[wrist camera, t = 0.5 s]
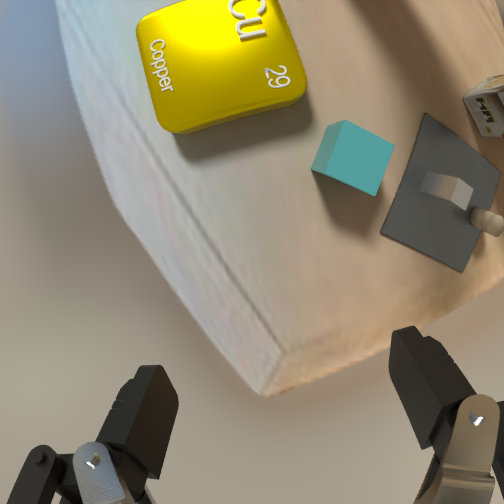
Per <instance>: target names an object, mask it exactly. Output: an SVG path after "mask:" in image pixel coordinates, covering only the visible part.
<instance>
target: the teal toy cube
mask: <svg viewBox="0 0 504 504" xmlns="http://www.w3.org/2000/svg"><path fill="white" fill-rule="evenodd" d="M394 146H395V145H393V144H391V143H389V142H388V141H386V140H384V139H382V138H380V137H378V136H377V135H375V134H373V133H371V132H369V131H367V130H365V129H363V128H361V127H359V126H357V125H355V124H353V123H351V122H349V121H347V120H343V121H340V122H337V123H334V124H332V125H329V126H327V129H326V131H325V134H324V136H323V139H322V142H321V144H320V147H319V150H318V152H317V155H316V157H315V160H314V162H313V165H312V168H311V170H314V171H316V172H319V173H321V174H323V175H326V176H328V177H330V178H333V179H335V180H337V181H340V182H342V183H344V184H346V185H349V186H351V187H353V188H355V189H358V190H360V191H363V192H365V193H368V194H370V195H372V196H376V193H377V191H378V188H379V186H380V183H381V181H382V178H383V175H384V173H385V170H386V168H387V165H388V162H389V160H390V157H391V154H392V151H393V149H394Z"/></svg>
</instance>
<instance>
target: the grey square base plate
mask: <svg viewBox="0 0 504 504" xmlns="http://www.w3.org/2000/svg"><path fill="white" fill-rule="evenodd" d="M500 176H501V173H500V172H499V171H498V170H497V169H496V168H495V167H494V166H492V165H491V164H490V163H489V162H488V161H487V160H486V159H485V158H484V157H483V156H481V155H480V154H479V153H478V152H477V151H476V150H474V149H473V148H472V147H471V146H470V145H468V144H467V143H466V142H465V141H463V140H462V139H461V138H460V137H458V136H457V135H456V134H455V133H453V132H452V131H451V130H449V129H448V128H447V127H445V126H444V125H442V124H441V123H440V122H438V121H437V120H435V119H434V118H433V117H431V116H430V115H428V114H427V113H424V116H423V119H422V122H421V125H420V129H419V132H418V135H417V138H416V141H415V144H414V147H413V150H412V153H411V156H410V158H409V161H408V164H407V167H406V169H405V172H404V175H403V177H402V180H401V183H400V185H399V188H398V190H397V193H396V195H395V198H394V200H393V203H392V205H391V207H390V210H389V212H388V215H387V217H386V219H385V222H384V224H383V226H382V228H381V231H380V232H381V233H383V234H385V235H387V236H390V237H392V238H394V239H396V240H398V241H400V242H402V243H405V244H407V245H409V246H411V247H413V248H415V249H417V250H419V251H421V252H423V253H425V254H427V255H429V256H431V257H433V258H435V259H437V260H439V261H441V262H443V263H445V264H447V265H449V266H451V267H453V268H455V269H457V270H459V271H460V272H462V273H463V271H464V269H465V267H466V265H467V263H468V261H469V259H470V256H471V254H472V252H473V250H474V248H475V245H476V243H477V241H478V238H479V236H480V233H481V231H482V230H480V229H478V228H476V227H474V226H473V225H472V223H471V214H472V212H473V210H474V209H475V208H477V207H479V208H482V209H484V210H487V211H489V210H490V207H491V204H492V201H493V198H494V195H495V192H496V189H497V186H498V182H499V179H500Z"/></svg>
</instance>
